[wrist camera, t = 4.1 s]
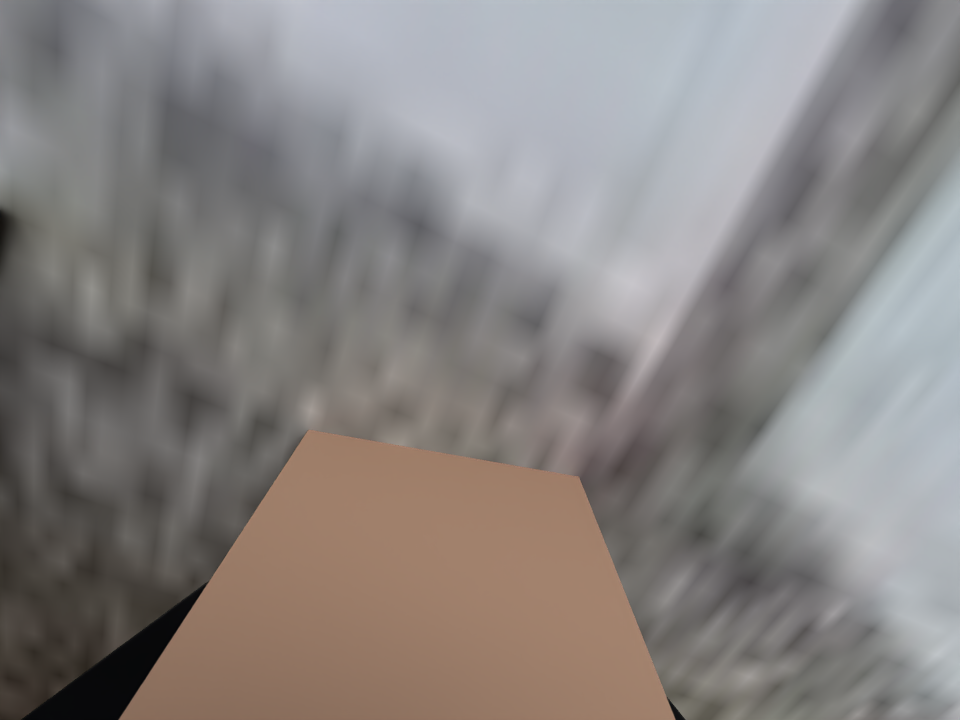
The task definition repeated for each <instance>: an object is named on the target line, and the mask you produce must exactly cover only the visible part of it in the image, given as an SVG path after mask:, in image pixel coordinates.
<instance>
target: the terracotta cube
mask: <svg viewBox="0 0 960 720" xmlns="http://www.w3.org/2000/svg"><path fill="white" fill-rule="evenodd" d="M119 720H675V717H674V715H673V712H672V710H671V707H670V705H669V702H668V700H667V697H666V695H665V692H664V690H663V687H662V685H661V682H660V680H659V677H658V675H657V672H656V670H655V667H654V665H653V662H652V659H651V657H650V654H649V652H648V649H647V647H646V644H645V642H644V639H643V637H642V634H641V632H640V629H639V627H638V624H637V622H636V619H635V617H634V614H633V612H632V609H631V607H630V604H629V602H628V599H627V597H626V594H625V592H624V589H623V587H622V584H621V582H620V579H619V577H618V574H617V572H616V569H615V567H614V564H613V562H612V559H611V556H610V554H609V551H608V549H607V546H606V544H605V541H604V539H603V536H602V534H601V531H600V529H599V526H598V524H597V521H596V519H595V516H594V514H593V511H592V509H591V506H590V504H589V501H588V499H587V496H586V494H585V491H584V489H583V486H582V484H581V481H580V479H579V477H577V476H571V475H565V474H560V473H554V472H548V471H542V470H537V469H531V468H525V467H519V466H514V465H508V464H502V463H496V462H491V461H485V460H479V459H473V458H468V457H462V456H456V455H450V454H445V453H439V452H433V451H427V450H422V449H416V448H410V447H404V446H399V445H393V444H387V443H381V442H376V441H370V440H364V439H359V438H353V437H347V436H341V435H336V434H330V433H324V432H318V431H313V430H308V431H307V433H306V434H305V436H304V437H303V439H302V440H301V442H300V443H299V445H298V446H297V448H296V449H295V451H294V453H293V454H292V456H291V457H290V459H289V460H288V462H287V463H286V465H285V466H284V468H283V469H282V471H281V472H280V474H279V475H278V477H277V479H276V480H275V482H274V483H273V485H272V486H271V488H270V489H269V491H268V492H267V494H266V495H265V497H264V498H263V500H262V501H261V503H260V505H259V506H258V508H257V509H256V511H255V512H254V514H253V515H252V517H251V518H250V520H249V521H248V523H247V524H246V526H245V527H244V529H243V531H242V532H241V534H240V535H239V537H238V538H237V540H236V541H235V543H234V544H233V546H232V547H231V549H230V550H229V552H228V553H227V555H226V557H225V558H224V560H223V561H222V563H221V564H220V566H219V567H218V569H217V570H216V572H215V573H214V575H213V576H212V578H211V580H210V581H209V583H208V584H207V586H206V587H205V589H204V590H203V592H202V593H201V595H200V596H199V598H198V599H197V601H196V602H195V604H194V606H193V607H192V609H191V610H190V612H189V613H188V615H187V616H186V618H185V619H184V621H183V622H182V624H181V625H180V627H179V628H178V630H177V632H176V633H175V635H174V636H173V638H172V639H171V641H170V642H169V644H168V645H167V647H166V648H165V650H164V651H163V653H162V654H161V656H160V658H159V659H158V661H157V662H156V664H155V665H154V667H153V668H152V670H151V671H150V673H149V674H148V676H147V677H146V679H145V680H144V682H143V684H142V685H141V687H140V688H139V690H138V691H137V693H136V694H135V696H134V697H133V699H132V700H131V702H130V703H129V705H128V706H127V708H126V710H125V711H124V713H123V714H122V716H121V717H120V719H119Z"/></svg>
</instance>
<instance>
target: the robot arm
mask: <svg viewBox="0 0 960 720" xmlns="http://www.w3.org/2000/svg"><path fill="white" fill-rule="evenodd" d="M209 581H210V580H209ZM209 581H208V582H207V583H205V584H204V585H202V586H201V587H200V588H198V589H197V590H196V591H194V592H193V593H192V594H190V595H189V596H188V597H186V598H185V599H184V600H182V601H181V602H180V603H178V604H177V605H175V606H174V607H173V608H171V609H170V610H169V611H167V612H166V613H165V614H163V615H162V616H161V617H159V618H158V619H157V620H155V621H154V622H152V623H151V624H150V625H148V626H147V627H146V628H144V629H143V630H142V631H140V632H139V633H138V634H136V635H135V636H134V637H132V638H131V639H129V640H128V641H127V642H125V643H124V644H123V645H121V646H120V647H119V648H117V649H116V650H115V651H113V652H112V653H111V654H109V655H108V656H106V657H105V658H104V659H102V660H101V661H100V662H98V663H97V664H96V665H94V666H93V667H92V668H90V669H89V670H88V671H86V672H85V673H84V674H82V675H81V676H79V677H78V678H77V679H75V680H74V681H73V682H71V683H70V684H69V685H67V686H66V687H65V688H63V689H62V690H61V691H59V692H58V693H56V694H55V695H54V696H52V697H51V698H50V699H48V700H47V701H46V702H44V703H43V704H42V705H40V706H39V707H38V708H36V709H35V710H33V711H32V712H31V713H29V714H28V715H27V716H25V717H24V718H23V719H21V720H119V719H120V717H121V716H122V714H123V713H124V711H125V710H126V708H127V706H128V705H129V703H130V702H131V700H132V699H133V697H134V696H135V694H136V693H137V691H138V690H139V688H140V687H141V685H142V684H143V682H144V680H145V679H146V677H147V676H148V674H149V673H150V671H151V670H152V668H153V667H154V665H155V664H156V662H157V661H158V659H159V658H160V656H161V654H162V653H163V651H164V650H165V648H166V647H167V645H168V644H169V642H170V641H171V639H172V638H173V636H174V635H175V633H176V632H177V630H178V628H179V627H180V625H181V624H182V622H183V621H184V619H185V618H186V616H187V615H188V613H189V612H190V610H191V609H192V607H193V606H194V604H195V602H196V601H197V599H198V598H199V596H200V595H201V593H202V592H203V590H204V589H205V587H206V586H207V584H208V583H209ZM666 697H667V696H666ZM667 700H668V702H669V705H670V707H671V710H672V712H673V715H674V717H675V720H685V719H684V717H683V716H682V715H681V714H680V712H679V711H678V710H677V709H676V707H675V706H674V705H673V704H672V702H671V701H670V700H669V699H668V697H667Z"/></svg>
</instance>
